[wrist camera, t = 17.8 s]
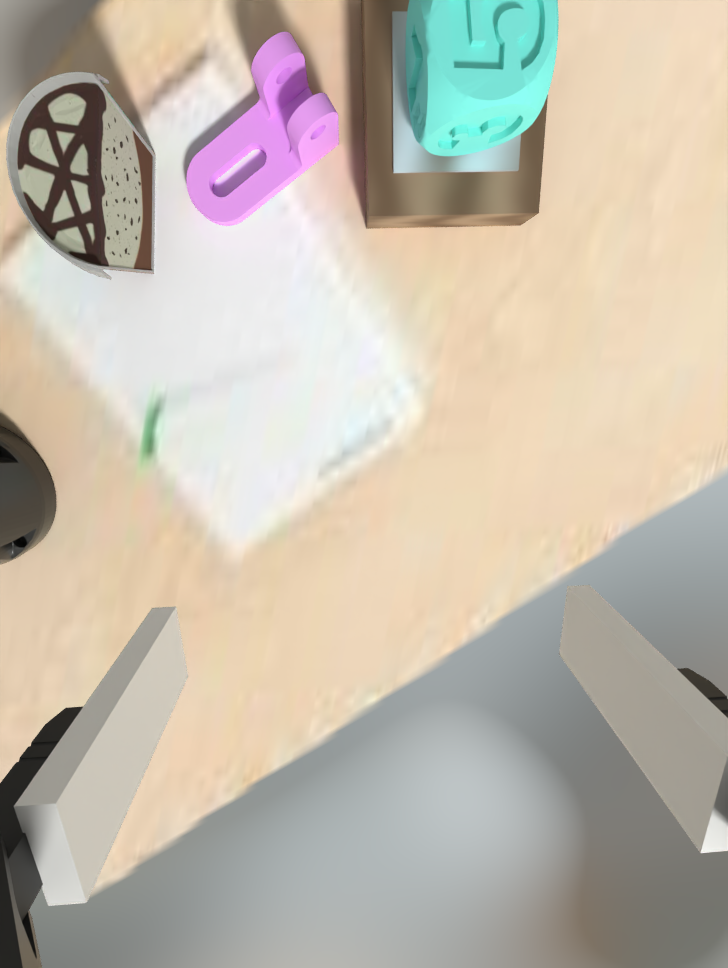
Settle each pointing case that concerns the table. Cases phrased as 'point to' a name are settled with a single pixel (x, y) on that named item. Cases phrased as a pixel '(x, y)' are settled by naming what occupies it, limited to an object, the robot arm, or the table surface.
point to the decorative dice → (477, 70)
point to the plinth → (424, 176)
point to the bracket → (266, 136)
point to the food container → (84, 175)
